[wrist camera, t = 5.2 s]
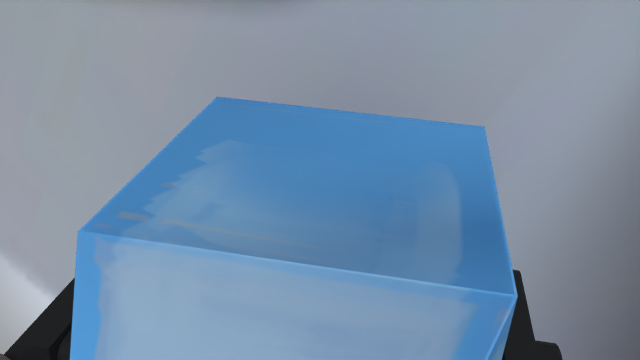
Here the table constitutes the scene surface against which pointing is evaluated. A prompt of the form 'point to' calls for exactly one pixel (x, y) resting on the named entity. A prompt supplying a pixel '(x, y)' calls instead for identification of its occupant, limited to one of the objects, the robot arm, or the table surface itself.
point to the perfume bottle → (300, 243)
